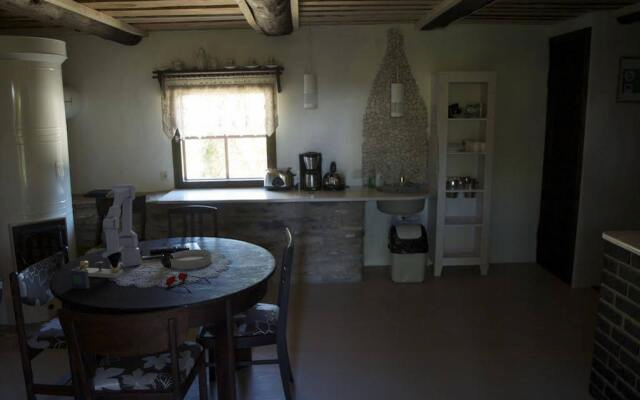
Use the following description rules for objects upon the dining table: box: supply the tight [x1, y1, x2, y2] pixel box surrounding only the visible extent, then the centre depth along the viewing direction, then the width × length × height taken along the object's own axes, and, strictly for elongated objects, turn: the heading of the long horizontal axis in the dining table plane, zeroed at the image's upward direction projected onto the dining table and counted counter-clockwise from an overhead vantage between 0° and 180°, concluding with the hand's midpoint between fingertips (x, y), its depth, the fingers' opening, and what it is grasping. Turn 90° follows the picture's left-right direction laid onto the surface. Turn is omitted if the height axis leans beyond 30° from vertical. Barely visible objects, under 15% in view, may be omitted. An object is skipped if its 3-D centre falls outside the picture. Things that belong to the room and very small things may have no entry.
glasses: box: [164, 271, 212, 294], centre depth 239 cm, size 14×16×5 cm
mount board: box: [82, 267, 124, 279], centre depth 259 cm, size 22×7×2 cm, turn 76°
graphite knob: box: [94, 260, 105, 270], centre depth 258 cm, size 4×4×4 cm
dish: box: [169, 248, 212, 270], centre depth 275 cm, size 22×22×5 cm
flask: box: [70, 265, 90, 291], centre depth 238 cm, size 9×3×11 cm, turn 74°
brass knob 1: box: [79, 260, 90, 269], centre depth 260 cm, size 4×4×4 cm
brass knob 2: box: [110, 265, 121, 273], centre depth 256 cm, size 4×4×4 cm
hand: (115, 267), depth 256 cm, fingers closed, pressing on brass knob 2
